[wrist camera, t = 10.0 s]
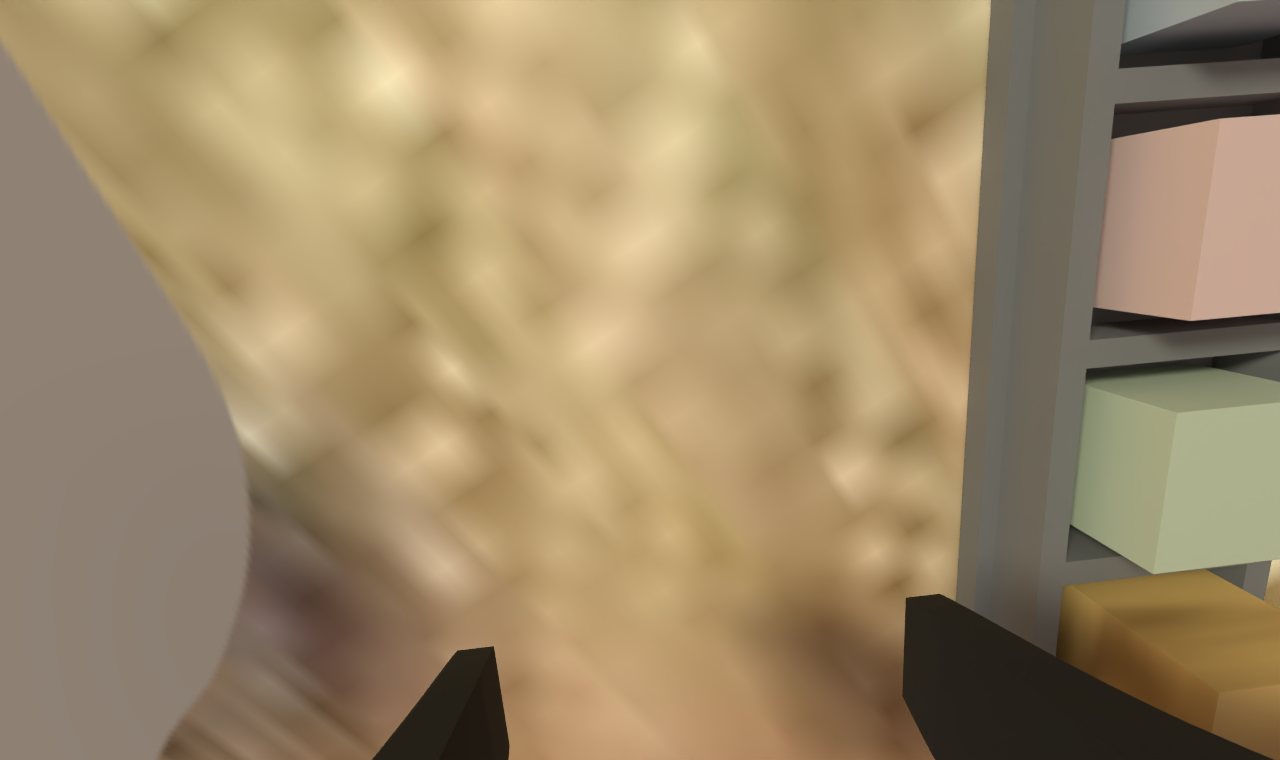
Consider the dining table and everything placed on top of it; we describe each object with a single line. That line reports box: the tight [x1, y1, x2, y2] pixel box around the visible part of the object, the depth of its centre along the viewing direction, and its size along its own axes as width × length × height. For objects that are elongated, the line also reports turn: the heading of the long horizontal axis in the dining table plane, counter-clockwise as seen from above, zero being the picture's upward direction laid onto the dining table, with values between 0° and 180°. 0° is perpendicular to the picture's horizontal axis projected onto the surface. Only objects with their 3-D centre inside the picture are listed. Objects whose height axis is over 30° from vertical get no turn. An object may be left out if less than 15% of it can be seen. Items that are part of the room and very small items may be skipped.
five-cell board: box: [956, 0, 1280, 657], centre depth 16 cm, size 37×9×5 cm, turn 4°
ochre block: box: [1056, 569, 1280, 760], centre depth 18 cm, size 4×4×6 cm
